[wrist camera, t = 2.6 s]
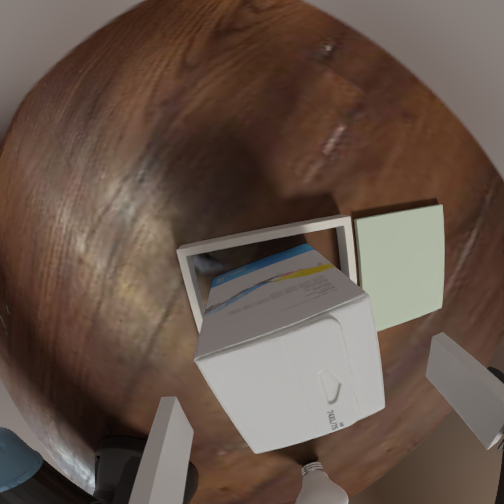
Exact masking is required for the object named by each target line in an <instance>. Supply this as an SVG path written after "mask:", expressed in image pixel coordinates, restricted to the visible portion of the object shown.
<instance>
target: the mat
mask: <svg viewBox="0 0 504 504" xmlns="http://www.w3.org/2000/svg"><path fill="white" fill-rule="evenodd" d="M354 226H355V235H356V244H357V255H358V267H359V281H360V288H362V289H363V290H364V291H365V292H366V293H367V294H369V296H370V299H371V305H372V310H373V315H374V320H375V325H376V331H380V330H383V329H386V328H389V327H392V326H395V325H398V324H401V323H404V322H406V321H409V320H412V319H414V318H417V317H420V316H422V315H425V314H427V313H430V312H432V311H435V310H437V309H440V308H442V300H443V285H444V220H443V206H442V205H440V204H437V205H432V206H426V207H420V208H414V209H408V210H402V211H397V212H391V213H385V214H380V215H374V216H369V217H363V218H357V219H354Z"/></svg>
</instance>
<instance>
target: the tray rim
mask: <svg viewBox="0 0 504 504" xmlns="http://www.w3.org/2000/svg"><path fill="white" fill-rule="evenodd" d="M333 227H336V231H337V239H338V247H339V256H340V266H341V272H343V273H344V274H345V275H346V276H347V277H349V278H350V279H351V280H352V281H353V282H354V283H356V284H357V278H356V265H355V254H354V244H353V234H352V226H351V218H350V216H347V215H342V214H339V215H334V216H328V217H322V218H317V219H311V220H306V221H301V222H295V223H290V224H284V225H279V226H274V227H269V228H264V229H258V230H253V231H248V232H243V233H238V234H233V235H228V236H223V237H218V238H213V239H208V240H203V241H198V242H194V243H189V244H184V245H181V246H180V247H179V248H178V249H177V250H176V251H177V255H178V259H179V263H180V267H181V271H182V275H183V279H184V282H185V286H186V290H187V293H188V297H189V301H190V304H191V308H192V311H193V315H194V318H195V321H196V325H197V328H198V331H199V334H200V330H201V325H202V321H203V317H204V313H205V307H204V303H203V299H202V295H201V292H200V288H199V284H198V280H197V276H196V272H195V268H194V264H193V260H192V256H191V255H195V254H200V253H205V252H210V251H215V250H220V249H225V248H230V247H235V246H240V245H245V244H251V243H256V242H261V241H266V240H271V239H276V238H281V237H286V236H292V235H297V234H302V233H307V232H312V231H318V230H323V229H328V228H333Z"/></svg>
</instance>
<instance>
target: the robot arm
mask: <svg viewBox="0 0 504 504" xmlns="http://www.w3.org/2000/svg"><path fill="white" fill-rule="evenodd" d="M425 376H426V377H427V378H428V380H429V381H430V382H431V383H432V384H433V385H434V386H435V388H436V389H437V390H438V391H439V392H440V393H441V394H442V396H443V397H444V398H445V399H446V400H447V401H448V403H449V404H450V405H451V406H452V407H453V408H454V410H455V411H456V412H457V413H458V414H459V415H460V417H461V418H462V419H463V420H464V421H465V423H466V424H467V425H468V426H469V427H470V429H471V430H472V431H473V433H474V434H475V435H476V436H477V438H478V439H479V440H480V441H481V443H482V444H483V445H484V446H485V448H486V449H487V450H488V449H489V448H490V447H492V446H493V445H494V444H495V443H497V442H498V441H499V439H500V437H501V436H502V434H503V433H504V374H503V373H502V372H500V371H499V370H498V369H495V368H492V367H489V368H487V369H486V368H485V367H484V366H483V365H482V364H480V363H479V362H478V361H477V360H476V359H475V358H473V357H472V356H471V355H470V354H469V353H467V352H466V351H465V350H464V349H463V348H461V347H460V346H459V345H458V344H457V343H455V342H454V341H453V340H452V339H450V338H449V337H448V336H447V335H445V334H444V333H443V332H442V333H440V334H437V335H435V336H433V337H432V341H431V348H430V354H429V360H428V365H427V370H426V375H425ZM193 432H194V431H193V429H192V427H191V426H190V424H189V422H188V420H187V418H186V416H185V414H184V412H183V410H182V408H181V406H180V404H179V402H178V399H177V397H176V396H174V397H162V398H161V401H160V404H159V407H158V409H157V412H156V416H155V419H154V422H153V425H152V428H151V431H150V434H149V437H148V440H147V441H145V440H141V439H137V438H131V437H122V436H115V437H108V438H106V439H104V440H102V441H101V442H100V444H99V446H98V449H97V451H96V453H95V491H94V493H93V496H92V495H90V494H89V493H87V492H86V491H84V490H83V489H81V488H80V487H78V486H77V485H76V484H74V483H73V482H71V481H70V480H69V479H67V478H66V477H65V476H63V475H62V474H61V473H60V472H58V471H57V470H56V469H55V468H53V467H52V466H51V465H50V464H49V463H48V462H46V461H45V460H44V459H43V457H42V456H41V455H40V454H39V453H38V452H37V451H35V450H33V449H32V448H30V447H29V446H28V445H27V444H26V443H25V442H24V441H23V440H21V439H20V438H19V437H18V436H17V435H16V434H15V433H14V432H12V431H11V430H9V429H7V428H3V427H0V504H189V503H190V501H191V499H192V498H193V496H194V494H195V492H196V491H197V487H198V478H199V475H198V471H197V470H196V468H195V467H194V466H193V465H192V464H191V463H190V462H189V457H190V450H191V444H192V438H193ZM502 446H503V449H502V450H503V457H502V465H501V473H500V480H499V486H498V491H497V496H496V501H495V504H504V439H503V441H502V443H501V444H500V446H499V447H498V450H500V449H501V447H502Z"/></svg>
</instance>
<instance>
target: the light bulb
mask: <svg viewBox="0 0 504 504" xmlns="http://www.w3.org/2000/svg"><path fill="white" fill-rule="evenodd" d="M301 471H302V475H303V479H302V489H301V492H300V494H299V496H298V498H297V500H296V503H295V504H348V496H347V494H346V492H345V491H344V490H343V489H342V488H341V487H340V486H338V485H336V484H335V483H333V482H332V481H331V480H330V479H329V478H328V476H327V474H326V473H325V472H323V466H322V465H321V462H309V463H307V464H305V465H304V466H303V467H302V469H301Z"/></svg>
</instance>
